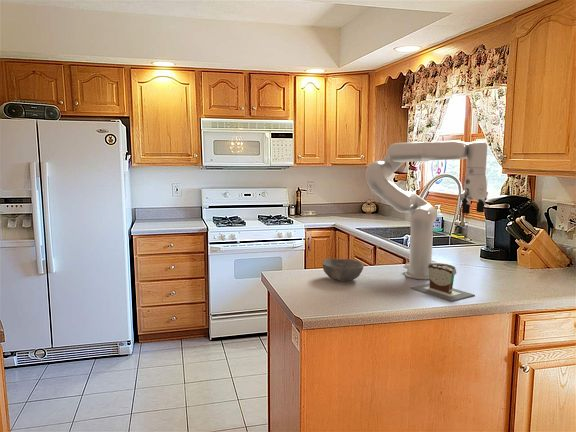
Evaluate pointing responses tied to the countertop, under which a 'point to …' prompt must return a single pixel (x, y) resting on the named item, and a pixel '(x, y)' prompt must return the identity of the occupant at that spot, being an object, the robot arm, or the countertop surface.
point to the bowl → (342, 269)
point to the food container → (441, 277)
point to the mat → (450, 297)
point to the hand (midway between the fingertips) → (472, 212)
